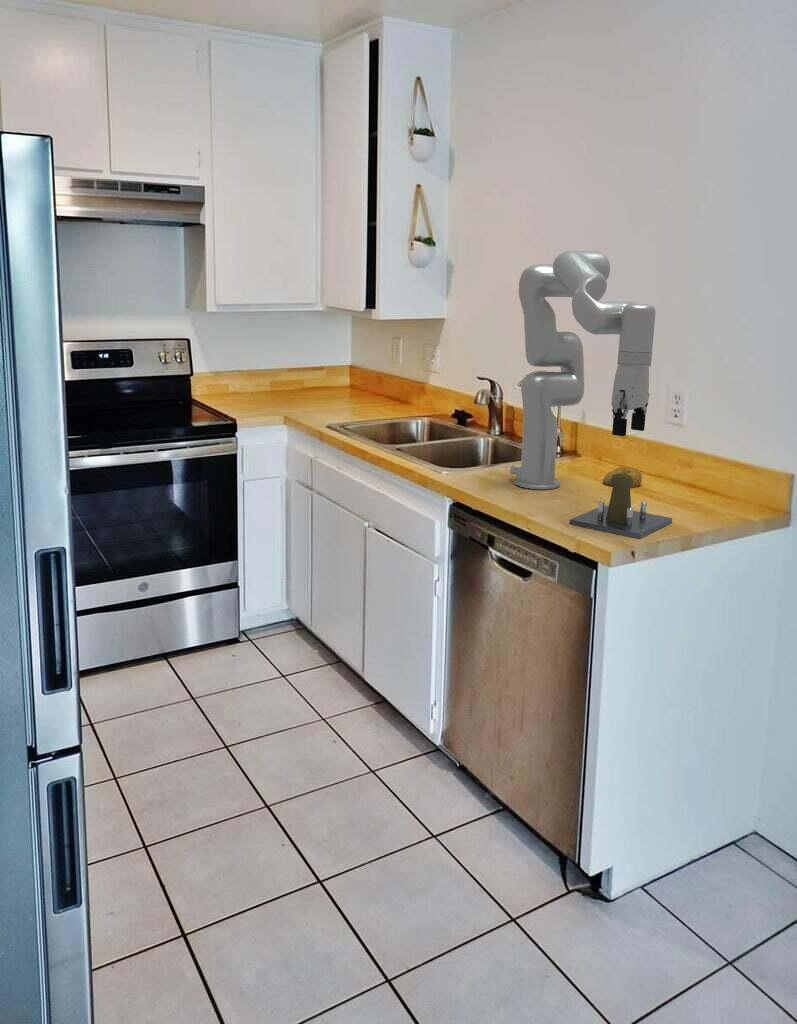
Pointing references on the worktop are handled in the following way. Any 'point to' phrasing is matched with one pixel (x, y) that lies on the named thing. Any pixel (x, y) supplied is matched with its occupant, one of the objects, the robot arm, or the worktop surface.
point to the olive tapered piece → (619, 498)
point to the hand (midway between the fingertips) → (628, 432)
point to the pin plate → (633, 527)
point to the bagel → (624, 470)
